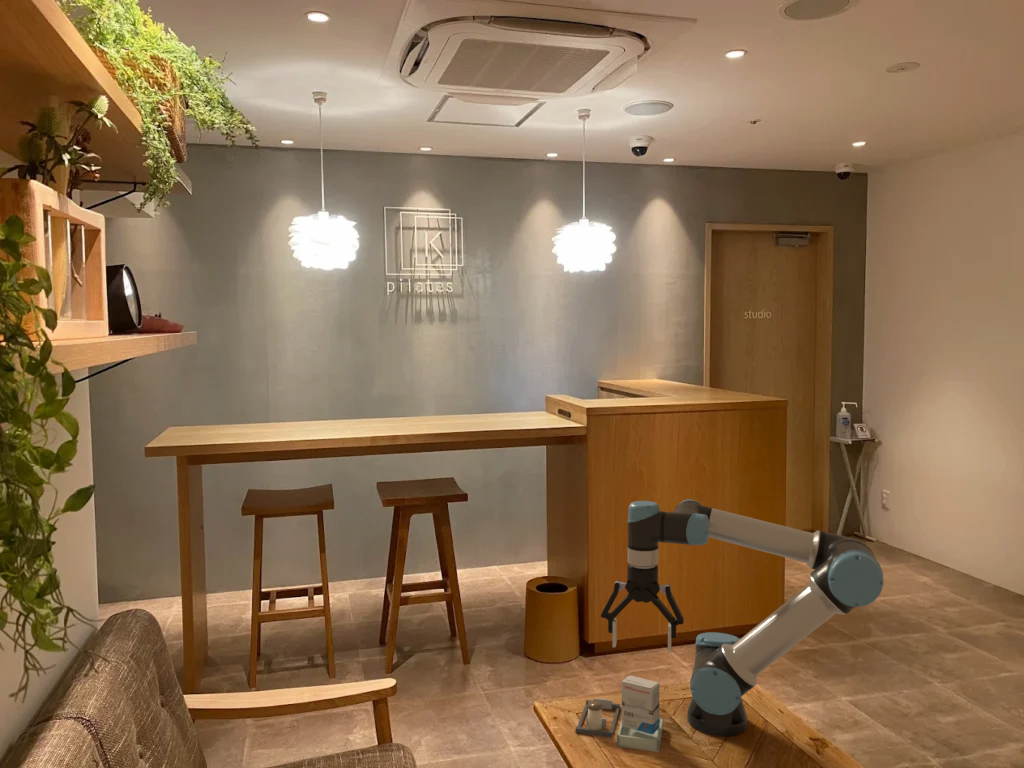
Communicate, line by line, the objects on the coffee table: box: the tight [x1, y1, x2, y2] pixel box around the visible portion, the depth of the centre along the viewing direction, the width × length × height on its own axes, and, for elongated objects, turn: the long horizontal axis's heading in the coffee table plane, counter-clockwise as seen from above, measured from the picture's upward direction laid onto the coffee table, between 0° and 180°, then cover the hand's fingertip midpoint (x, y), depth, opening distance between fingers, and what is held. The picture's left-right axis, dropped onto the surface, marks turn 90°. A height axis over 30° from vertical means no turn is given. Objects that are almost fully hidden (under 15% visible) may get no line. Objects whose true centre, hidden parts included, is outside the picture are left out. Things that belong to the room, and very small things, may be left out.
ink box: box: [621, 675, 660, 734], centre depth 206 cm, size 9×5×12 cm, turn 57°
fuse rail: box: [575, 697, 621, 739], centre depth 215 cm, size 9×16×2 cm, turn 165°
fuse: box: [587, 700, 603, 730], centre depth 209 cm, size 4×4×7 cm
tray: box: [616, 717, 664, 753], centre depth 206 cm, size 10×12×3 cm
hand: (641, 648), depth 205 cm, fingers open, 13 cm apart
